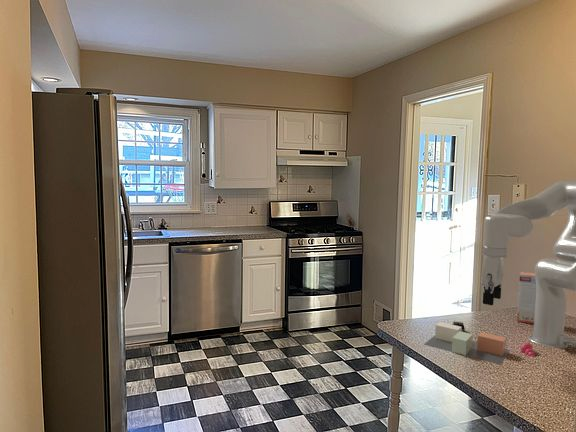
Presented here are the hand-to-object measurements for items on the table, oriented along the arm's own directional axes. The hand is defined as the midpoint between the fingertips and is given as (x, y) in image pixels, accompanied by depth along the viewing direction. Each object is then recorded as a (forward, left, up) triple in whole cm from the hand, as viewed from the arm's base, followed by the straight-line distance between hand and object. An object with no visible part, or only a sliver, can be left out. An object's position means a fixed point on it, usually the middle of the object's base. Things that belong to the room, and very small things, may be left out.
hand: (491, 301), depth 144 cm
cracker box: (-8, -47, -19) cm, 51 cm away
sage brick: (+7, +6, -17) cm, 20 cm away
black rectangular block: (+14, -13, -19) cm, 27 cm away
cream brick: (+14, -1, -17) cm, 23 cm away
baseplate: (+7, +2, -18) cm, 20 cm away
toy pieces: (-13, -4, -19) cm, 24 cm away
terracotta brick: (-1, 0, -17) cm, 17 cm away
